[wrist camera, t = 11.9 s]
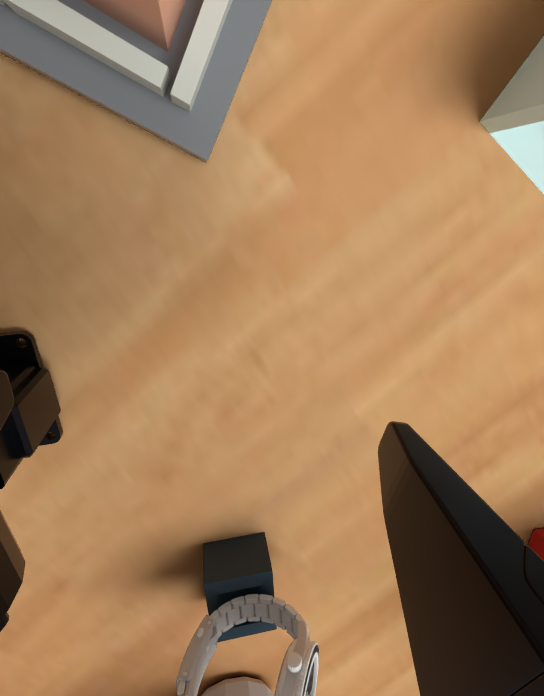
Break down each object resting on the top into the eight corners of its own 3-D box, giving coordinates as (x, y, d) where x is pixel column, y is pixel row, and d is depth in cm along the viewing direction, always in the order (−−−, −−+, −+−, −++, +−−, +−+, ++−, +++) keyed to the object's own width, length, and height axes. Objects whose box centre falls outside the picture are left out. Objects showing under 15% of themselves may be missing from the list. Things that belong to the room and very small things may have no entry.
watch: (294, 582, 30) (343, 777, 20) (187, 604, 29) (182, 823, 19) (291, 526, 28) (345, 712, 18) (176, 547, 27) (164, 759, 17)
